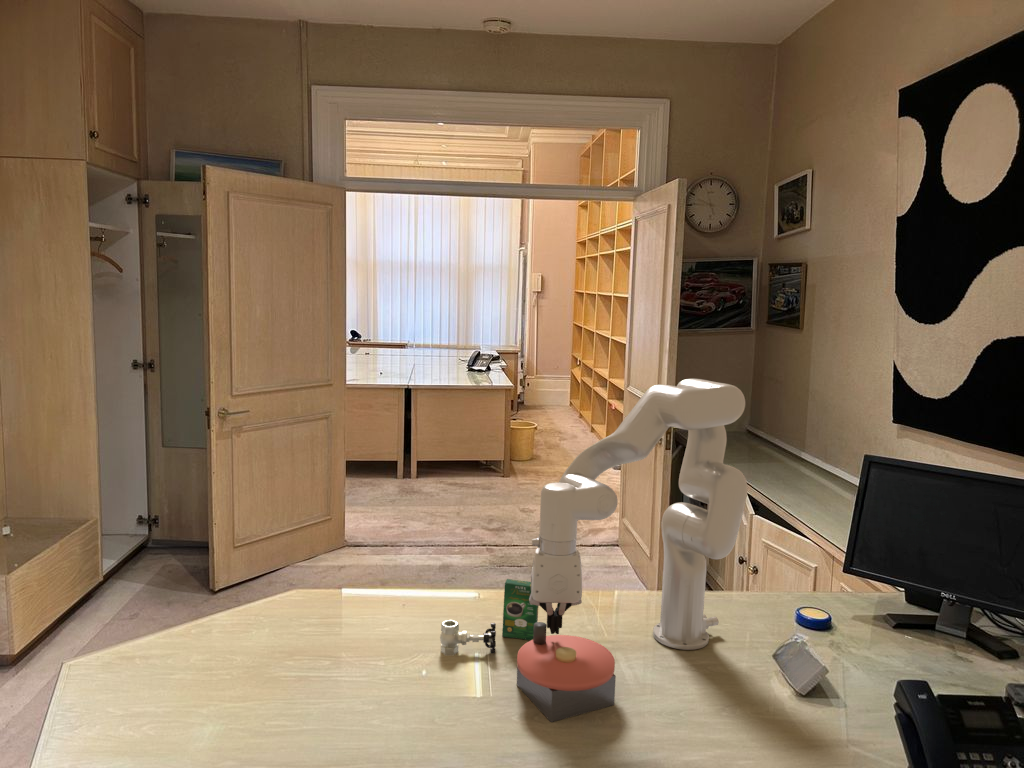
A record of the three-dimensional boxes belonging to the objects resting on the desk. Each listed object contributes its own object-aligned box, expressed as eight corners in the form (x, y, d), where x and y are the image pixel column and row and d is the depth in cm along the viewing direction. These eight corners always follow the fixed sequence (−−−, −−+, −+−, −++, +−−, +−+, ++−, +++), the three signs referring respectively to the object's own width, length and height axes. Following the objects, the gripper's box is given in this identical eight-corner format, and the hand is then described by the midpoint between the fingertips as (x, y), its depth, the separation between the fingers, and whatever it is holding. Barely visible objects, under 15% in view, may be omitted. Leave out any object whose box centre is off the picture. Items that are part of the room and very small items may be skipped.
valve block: (576, 670, 154) (577, 643, 153) (614, 704, 141) (615, 675, 141) (516, 684, 148) (517, 656, 147) (550, 722, 135) (552, 691, 134)
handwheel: (635, 670, 142) (636, 646, 141) (561, 702, 130) (562, 676, 130) (568, 633, 157) (569, 610, 156) (497, 658, 145) (498, 634, 145)
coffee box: (538, 635, 169) (540, 581, 167) (536, 641, 166) (538, 586, 164) (504, 632, 170) (505, 577, 168) (501, 637, 167) (503, 582, 166)
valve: (439, 659, 157) (495, 659, 158) (439, 630, 156) (496, 630, 157) (440, 644, 163) (494, 644, 164) (441, 616, 163) (495, 616, 163)
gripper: (522, 551, 144) (519, 639, 146) (597, 551, 145) (593, 639, 147) (519, 538, 151) (516, 622, 154) (591, 538, 152) (587, 622, 155)
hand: (554, 630), depth 150 cm, fingers closed
